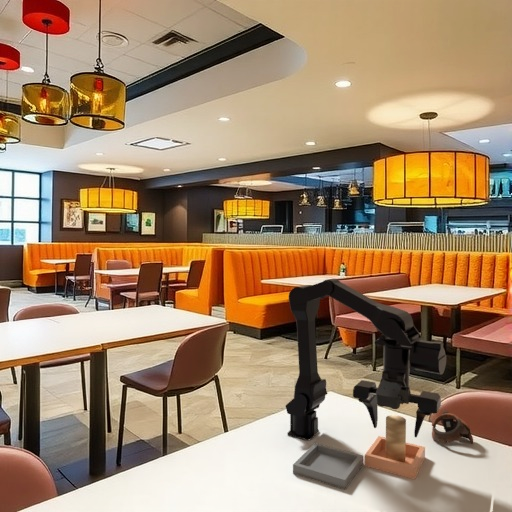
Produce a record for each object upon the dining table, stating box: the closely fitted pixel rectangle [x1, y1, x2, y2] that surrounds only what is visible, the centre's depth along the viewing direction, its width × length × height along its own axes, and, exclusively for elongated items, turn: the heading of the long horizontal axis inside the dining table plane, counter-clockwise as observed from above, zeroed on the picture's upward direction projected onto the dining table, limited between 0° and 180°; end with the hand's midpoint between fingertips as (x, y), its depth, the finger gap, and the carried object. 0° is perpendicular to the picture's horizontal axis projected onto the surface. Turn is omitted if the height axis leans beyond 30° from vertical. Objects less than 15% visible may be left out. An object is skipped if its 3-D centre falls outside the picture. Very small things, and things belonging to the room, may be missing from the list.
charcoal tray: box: [292, 442, 364, 490], centre depth 100 cm, size 12×12×2 cm
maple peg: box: [385, 414, 407, 463], centre depth 103 cm, size 4×4×10 cm
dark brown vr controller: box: [431, 410, 474, 445], centre depth 114 cm, size 12×10×8 cm
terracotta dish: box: [364, 435, 426, 480], centre depth 103 cm, size 11×11×3 cm
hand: (395, 432), depth 103 cm, fingers open, 9 cm apart
